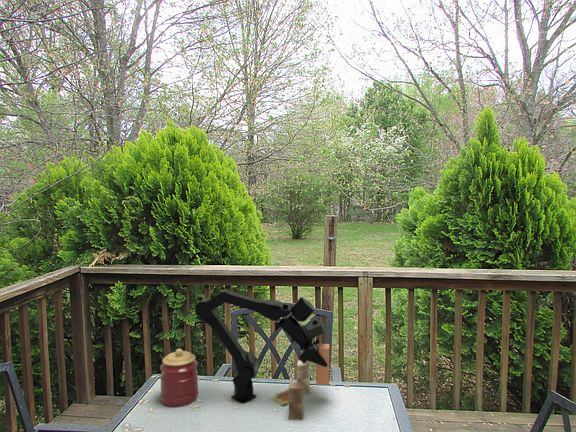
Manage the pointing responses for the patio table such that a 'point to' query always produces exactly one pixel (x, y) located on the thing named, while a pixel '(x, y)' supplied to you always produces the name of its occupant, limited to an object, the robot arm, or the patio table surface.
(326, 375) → the salmon orange block
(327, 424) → the patio table surface
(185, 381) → the canister
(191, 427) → the patio table surface
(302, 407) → the walnut block
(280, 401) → the shard
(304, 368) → the birch block
